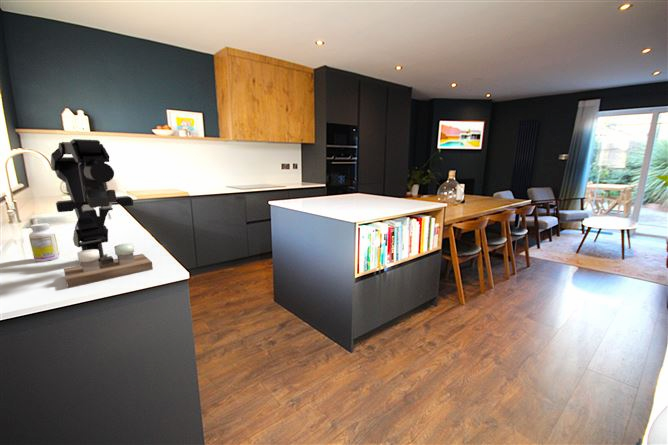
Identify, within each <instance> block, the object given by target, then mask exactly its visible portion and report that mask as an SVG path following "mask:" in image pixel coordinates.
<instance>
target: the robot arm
mask: <svg viewBox="0 0 668 445" xmlns="http://www.w3.org/2000/svg"><path fill="white" fill-rule="evenodd" d="M65 155H72V156H70V157H69V156H68V157H67V156H65ZM50 156H51V157H50V165H51V169H52V171H54V173H55V175H56V177H57V178H58V179H60V180H61V181H63V183H65V185H66V189H67V192H68V194H69V197H70V199H69V200H68V199H67V200H57V201H56V202H55V206H56V211H57V213H66V212H73V211H74V212H75V215H76V218H77V220H76V221H77V222H76V223H75V226H74V231H73V236H72V240H73V244H74V246H75V247H76V248H81V251H84V250H91V249H98V250H99V255H100V258H104V257H105V254H104V248H103V243H109V242H108V241H109V228H108V227H107V226H106V225H105V221H106V218H107V216H108V214H109V212H110V211H113V210H114V209H113V206H116V205H120V206H121V207H130V206H134V200H133V198H132V197H131V196H129V195H124V196H123V195H122V196H120V195H119V196H117V195H116V190H115V189H107V188H106V184H105V183H109V182H111V181H113V179H114V177H115V171H114V169H113V167H112V166H111V165H110V164H108V163H110V156H109V153H108V152H107V150H106V148H105V146H104V144H102V143H101V141H99V140H98V139H79V138H78V139H77V138H73V139H72V140H70V141H61V142H59V143H58V147H57V149H56V150H54V151H53V152H52V153H51V155H50ZM97 208H98V211H99V212H98V214H99V215H98V214H97V210H96V209H97ZM100 258H99V259H98V260H99V262H101V261H100Z"/></svg>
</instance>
